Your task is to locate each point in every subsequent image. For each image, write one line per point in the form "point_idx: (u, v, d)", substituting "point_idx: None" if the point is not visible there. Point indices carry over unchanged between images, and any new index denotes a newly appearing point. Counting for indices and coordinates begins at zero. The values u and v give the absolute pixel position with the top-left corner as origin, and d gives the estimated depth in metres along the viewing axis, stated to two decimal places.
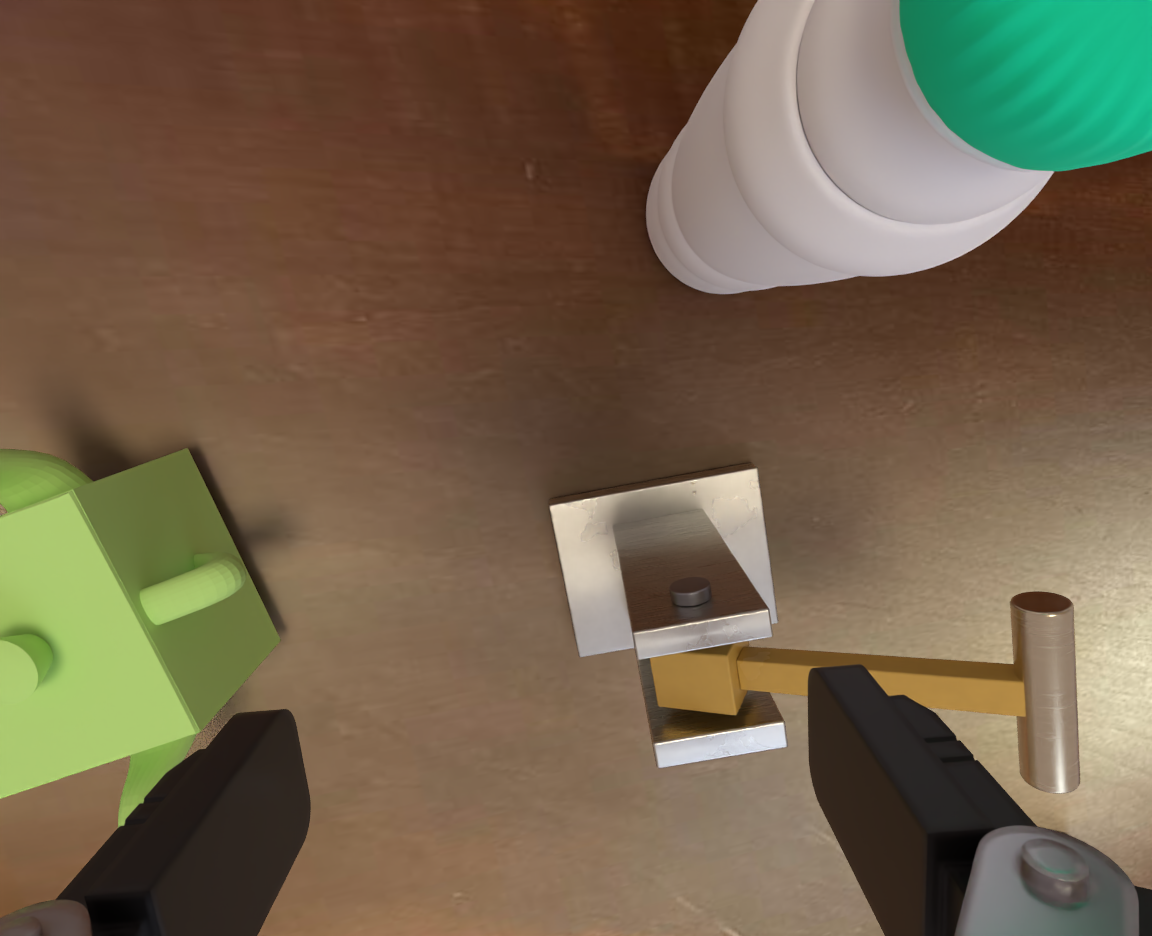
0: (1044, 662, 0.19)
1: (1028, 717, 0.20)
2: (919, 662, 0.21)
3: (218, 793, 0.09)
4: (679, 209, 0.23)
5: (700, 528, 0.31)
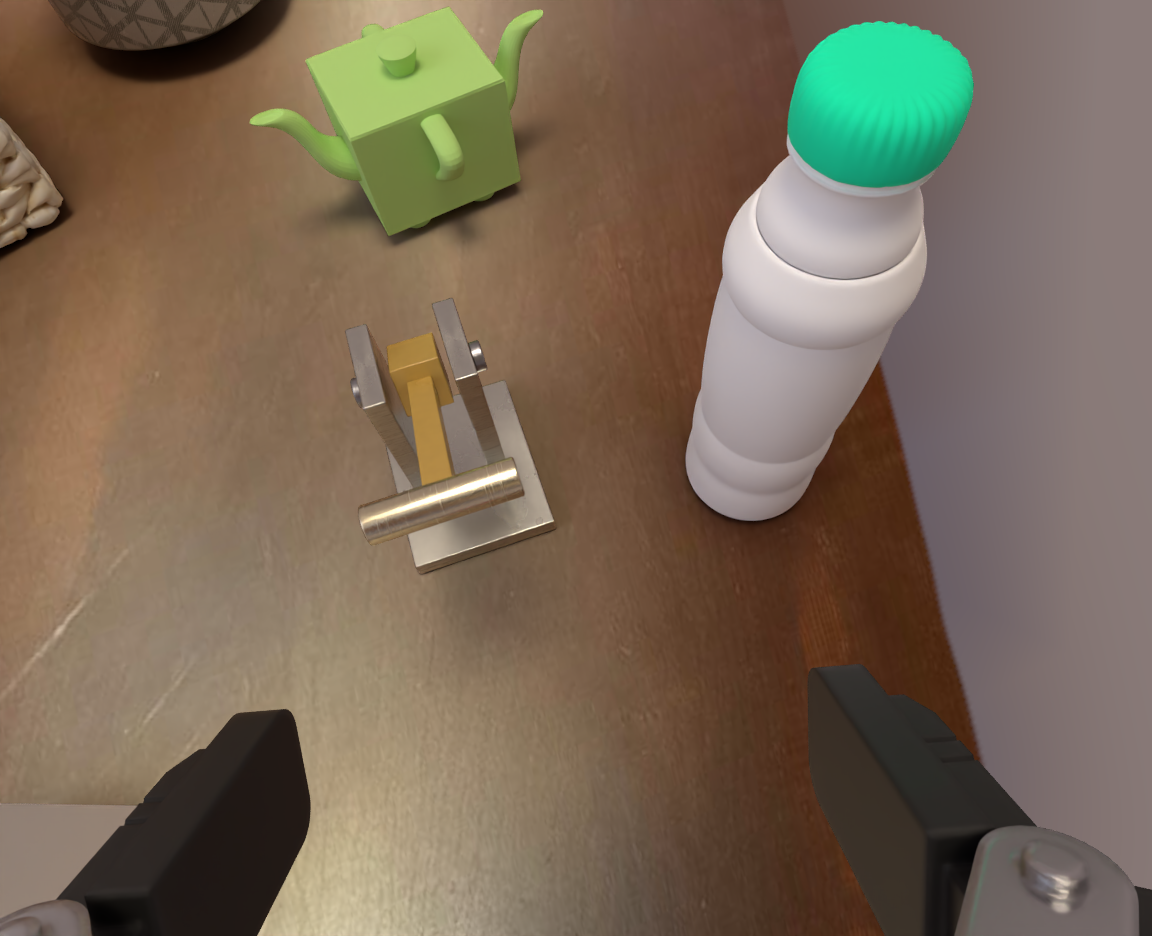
0: (473, 472, 0.24)
1: (422, 485, 0.24)
2: (449, 452, 0.27)
3: (218, 793, 0.09)
4: None
5: None
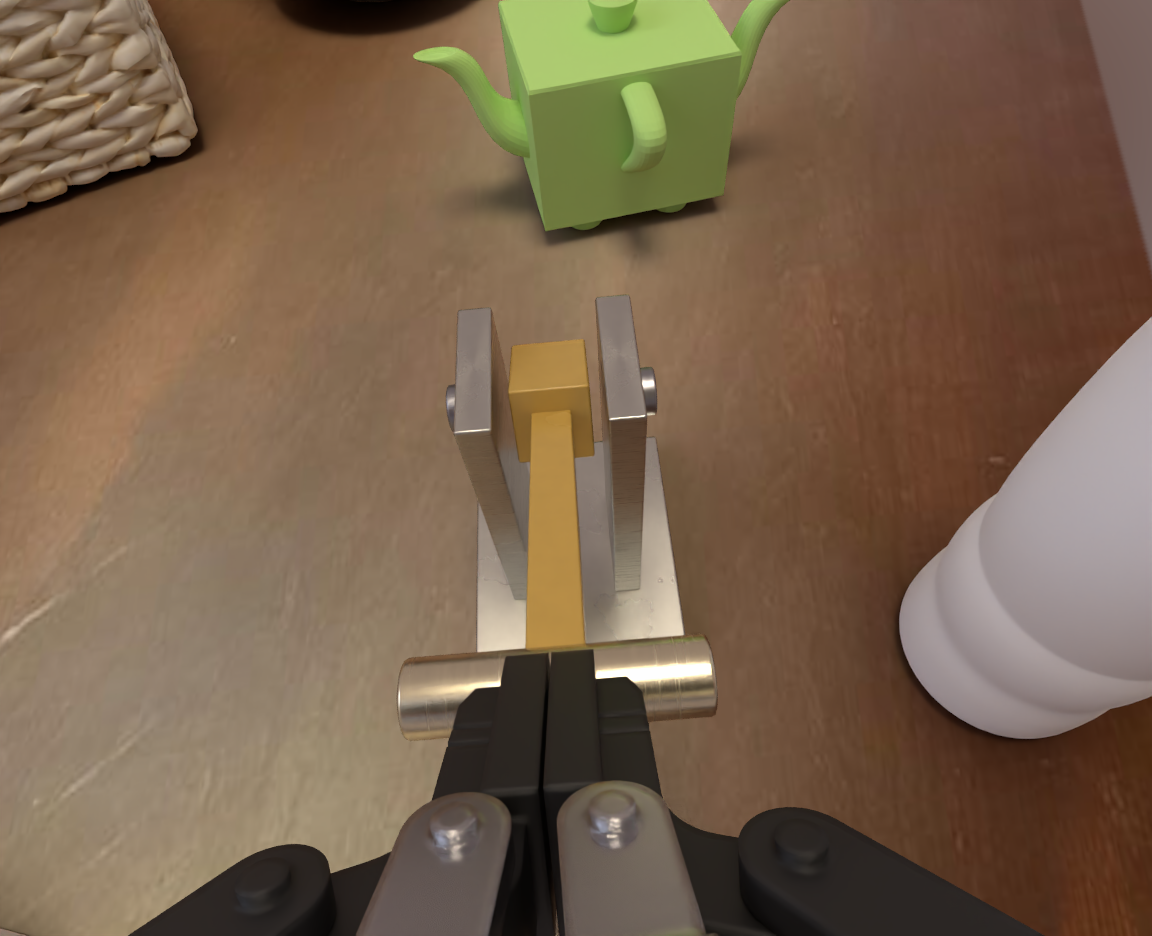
0: (628, 654, 0.12)
1: (526, 648, 0.13)
2: (581, 568, 0.15)
3: (538, 717, 0.10)
4: None
5: None
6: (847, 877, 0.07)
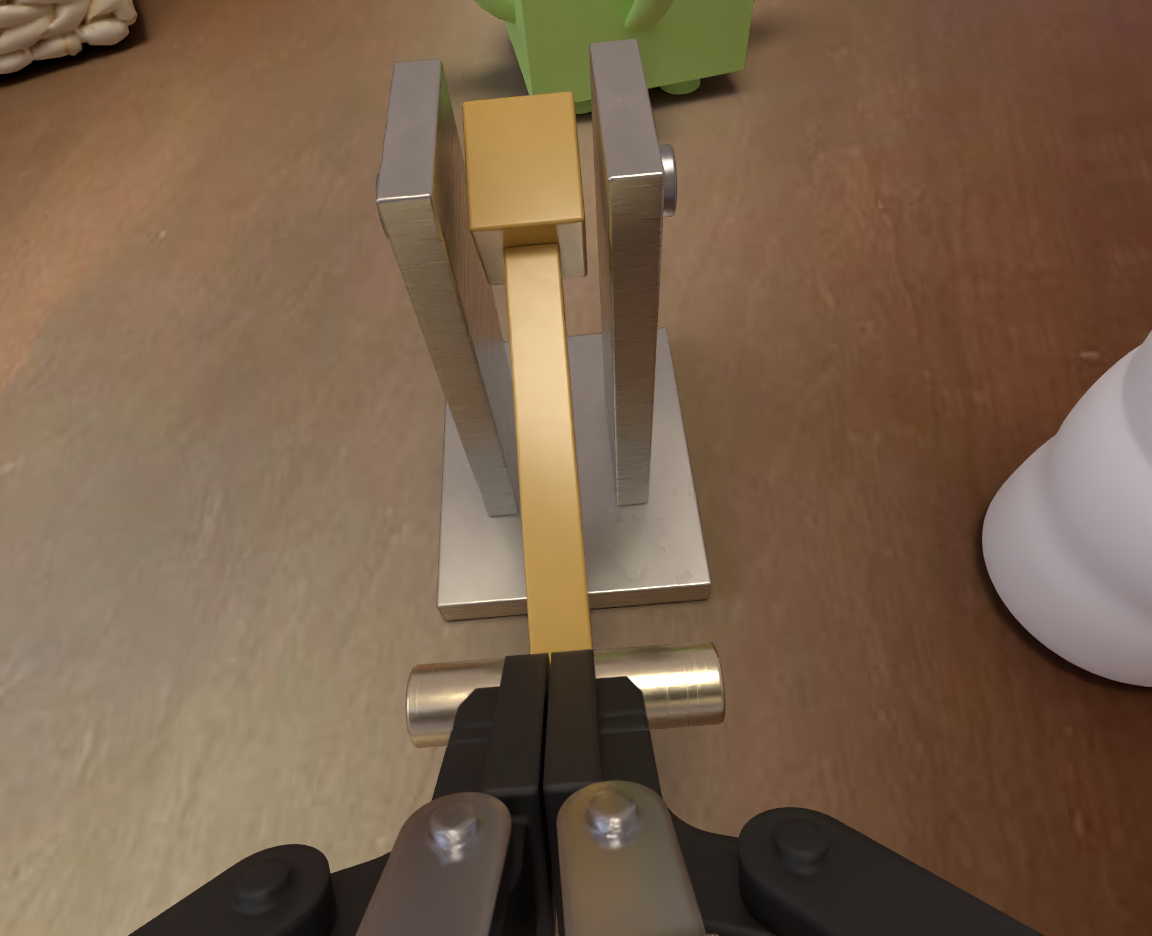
0: None
1: None
2: None
3: (538, 717, 0.10)
4: None
5: None
6: (847, 878, 0.07)
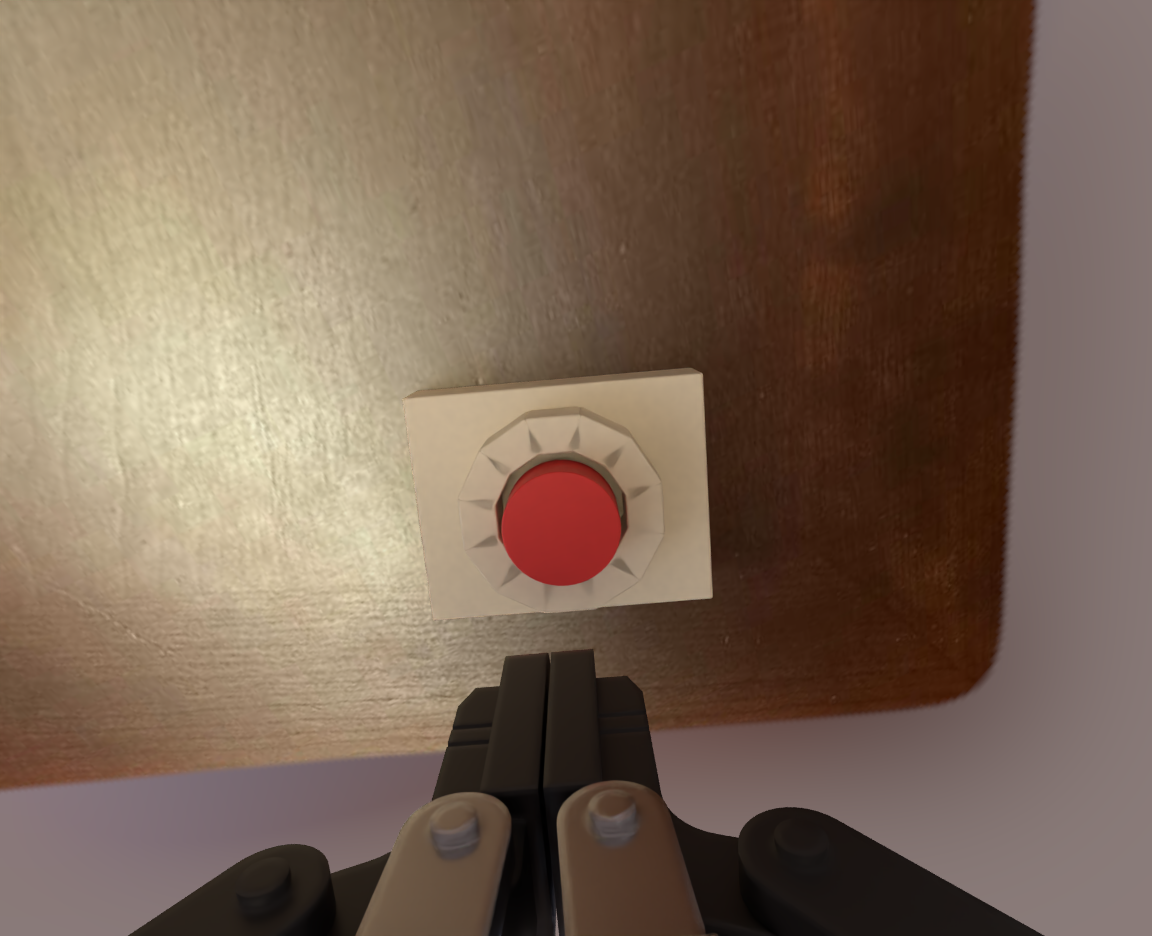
0: None
1: None
2: None
3: (539, 717, 0.10)
4: None
5: None
6: (847, 877, 0.07)
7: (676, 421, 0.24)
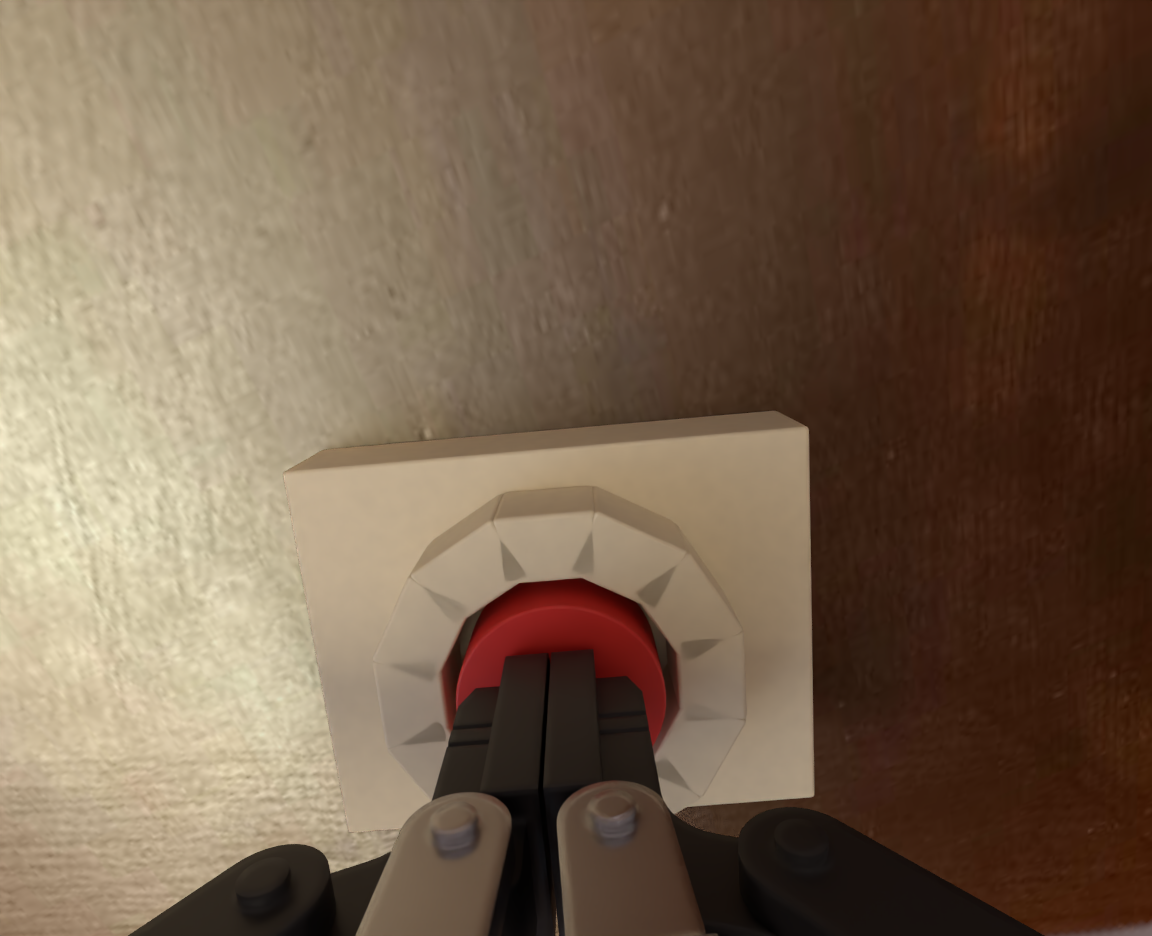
0: None
1: None
2: None
3: (538, 717, 0.10)
4: None
5: None
6: (847, 877, 0.07)
7: (760, 510, 0.14)
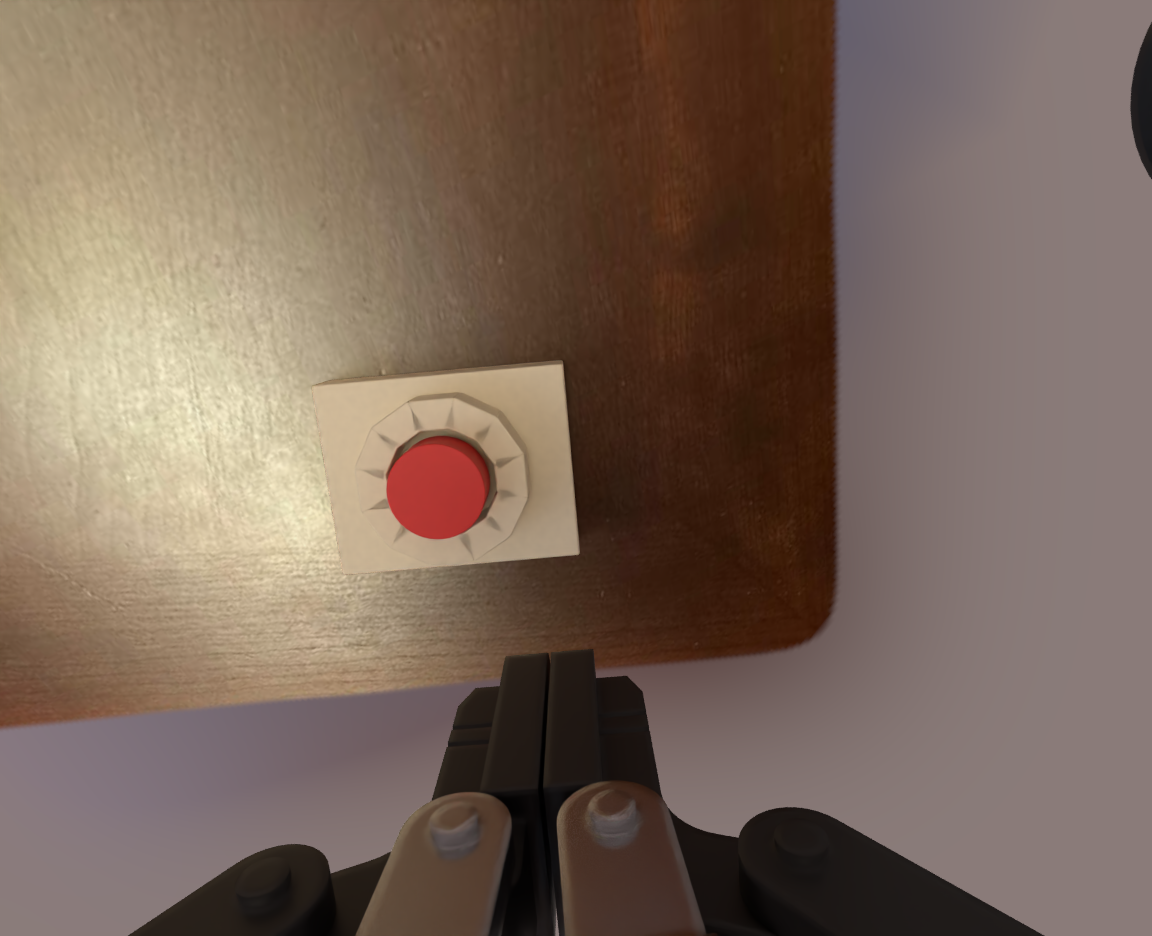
0: None
1: None
2: None
3: (539, 717, 0.10)
4: None
5: None
6: (847, 877, 0.07)
7: (542, 404, 0.28)
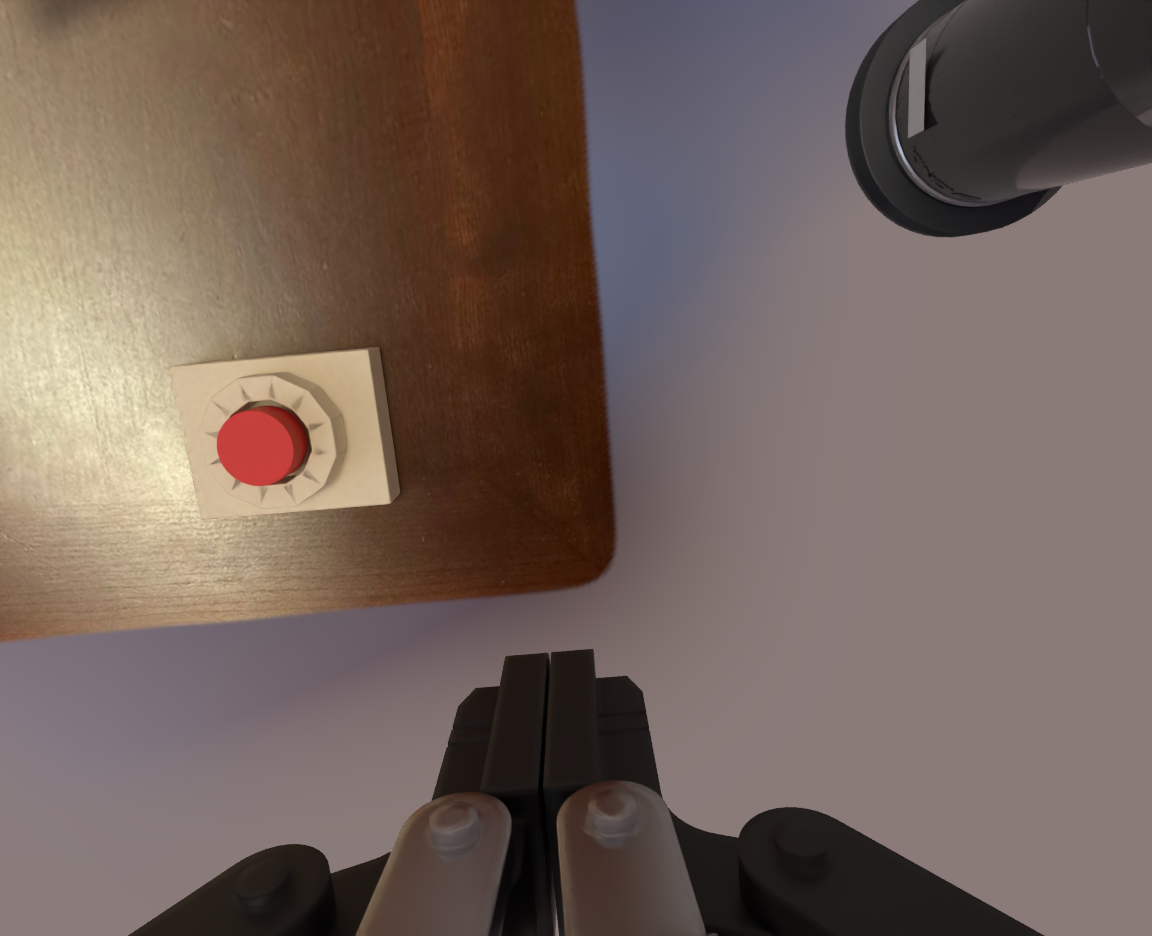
0: None
1: None
2: None
3: (539, 717, 0.10)
4: None
5: None
6: (847, 877, 0.07)
7: (353, 381, 0.36)
